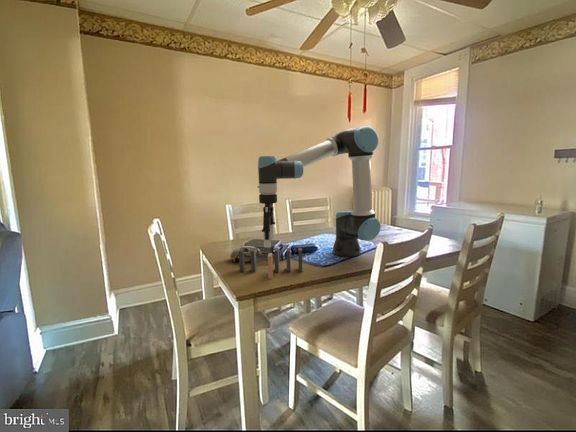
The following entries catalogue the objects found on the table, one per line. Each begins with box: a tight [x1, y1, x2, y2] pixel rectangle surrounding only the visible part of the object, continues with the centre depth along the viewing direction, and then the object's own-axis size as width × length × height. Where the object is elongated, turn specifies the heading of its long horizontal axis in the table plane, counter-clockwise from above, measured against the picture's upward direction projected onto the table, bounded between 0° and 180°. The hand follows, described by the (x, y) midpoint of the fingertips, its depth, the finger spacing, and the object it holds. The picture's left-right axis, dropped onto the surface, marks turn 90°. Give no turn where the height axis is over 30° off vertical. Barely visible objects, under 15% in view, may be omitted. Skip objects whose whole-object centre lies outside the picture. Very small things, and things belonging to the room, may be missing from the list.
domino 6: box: [297, 247, 303, 273], centre depth 141 cm, size 2×5×10 cm, turn 178°
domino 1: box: [238, 248, 246, 273], centre depth 142 cm, size 2×5×10 cm, turn 177°
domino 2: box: [250, 247, 257, 273], centre depth 142 cm, size 2×5×10 cm, turn 177°
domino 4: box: [273, 247, 280, 273], centre depth 141 cm, size 2×5×10 cm, turn 178°
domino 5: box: [285, 247, 292, 273], centre depth 141 cm, size 2×5×10 cm, turn 178°
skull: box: [229, 245, 262, 264], centre depth 157 cm, size 10×16×10 cm
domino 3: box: [267, 252, 274, 280], centre depth 133 cm, size 2×5×10 cm, turn 178°
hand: (269, 243), depth 131 cm, fingers open, 13 cm apart
